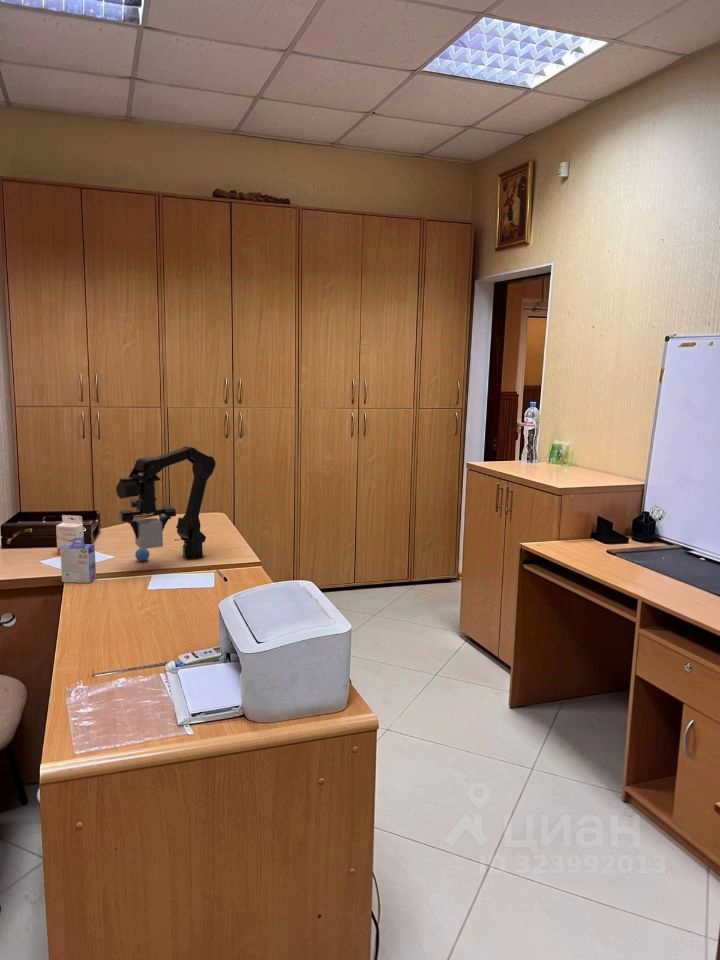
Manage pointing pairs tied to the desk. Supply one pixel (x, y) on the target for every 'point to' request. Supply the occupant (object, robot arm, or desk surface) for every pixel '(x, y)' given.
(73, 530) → the ink cartridge box
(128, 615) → the desk surface
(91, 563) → the ink cartridge box
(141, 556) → the ball
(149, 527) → the matte gray cube
